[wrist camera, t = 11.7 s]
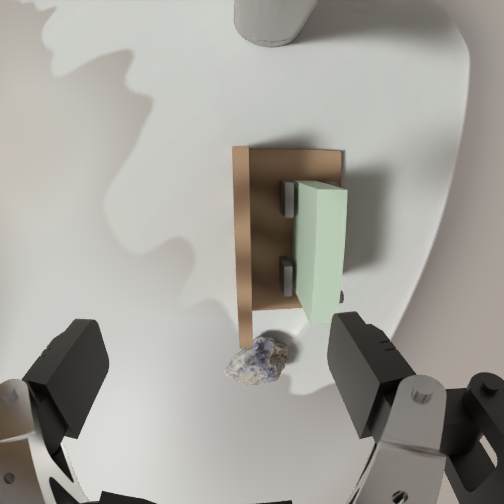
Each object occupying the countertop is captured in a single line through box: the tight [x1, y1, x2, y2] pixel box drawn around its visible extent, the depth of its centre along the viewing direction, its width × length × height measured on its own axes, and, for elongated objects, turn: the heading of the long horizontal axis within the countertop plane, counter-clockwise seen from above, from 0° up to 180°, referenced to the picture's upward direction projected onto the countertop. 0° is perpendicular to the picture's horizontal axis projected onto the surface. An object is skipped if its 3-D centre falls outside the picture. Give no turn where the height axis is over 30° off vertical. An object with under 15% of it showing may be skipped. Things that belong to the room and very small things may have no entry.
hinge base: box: [232, 146, 341, 348], centre depth 35 cm, size 22×14×10 cm, turn 1°
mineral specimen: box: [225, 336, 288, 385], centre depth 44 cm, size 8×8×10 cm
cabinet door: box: [292, 181, 348, 324], centre depth 34 cm, size 14×4×11 cm, turn 1°
